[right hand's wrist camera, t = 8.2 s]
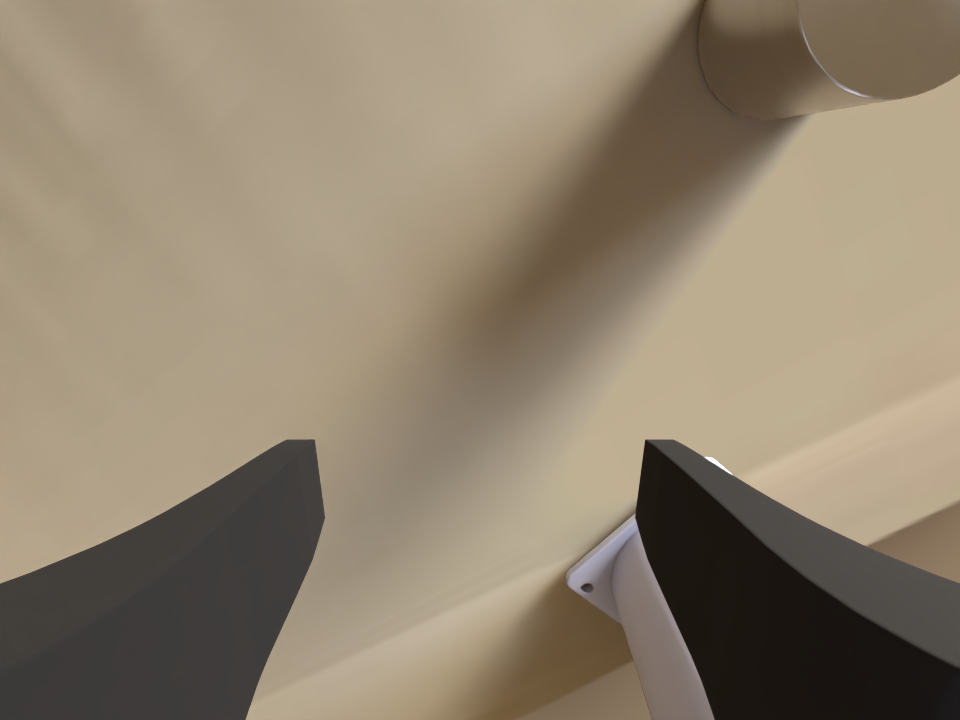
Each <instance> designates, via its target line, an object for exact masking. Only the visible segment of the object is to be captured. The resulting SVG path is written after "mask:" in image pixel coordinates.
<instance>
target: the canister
mask: <svg viewBox="0 0 960 720" xmlns="http://www.w3.org/2000/svg"><path fill="white" fill-rule="evenodd" d="M698 53H699V59H700V65H701V68H702V72H703V75H704V77H705V80H706V82H707V84H708V86H709V88H710V89H711V91H712V92H713V93H714V95H715V96H716V97H717V98H718V99H719V101H720V102H721V103H722V104H724V105H725V106H726V107H727V108H729V109H730V110H732V111H734V112H735V113H737V114H739V115H742V116H745V117H748V118H752V119H757V120H774V119H782V118H788V117H794V116H800V115H806V114H812V113H818V112H824V111H830V110H836V109H842V108H849V107H855V106H861V105H867V104H873V103H879V102H885V101H891V100H897V99H903V98H907V97H911V96H916V95H919V94H922V93H924V92H927V91H930V90H932V89H935V88H936V87H938V86H940V85H942V84H944V83H946V82H948V81H950V80H951V79H953V78H954V77H956V76H958V75H959V74H960V0H706V1H705V4H704V7H703V10H702V14H701V18H700V24H699V31H698Z"/></svg>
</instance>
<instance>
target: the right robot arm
mask: <svg viewBox="0 0 960 720" xmlns="http://www.w3.org/2000/svg"><path fill="white" fill-rule="evenodd" d="M324 519H325V515H324V507H323V499H322V492H321V484H320V477H319V469H318V461H317V454H316V446H315V440H285V441H283V442H281V443H279V444H277V445H276V446H274V447H272V448H270V449H269V450H267V451H265V452H264V453H262V454H261V455H259V456H257V457H256V458H254V459H253V460H251V461H249V462H248V463H246V464H245V465H243V466H241V467H240V468H238V469H237V470H235V471H233V472H232V473H230V474H229V475H227V476H225V477H224V478H222V479H221V480H219V481H217V482H216V483H214V484H213V485H211V486H209V487H207V488H206V489H204V490H202V491H201V492H199V493H197V494H195V495H194V496H192V497H190V498H188V499H187V500H185V501H183V502H181V503H180V504H178V505H176V506H174V507H173V508H171V509H169V510H167V511H166V512H164V513H162V514H160V515H158V516H156V517H154V518H153V519H151V520H149V521H147V522H145V523H143V524H141V525H139V526H137V527H135V528H133V529H131V530H128V531H126V532H124V533H122V534H120V535H118V536H116V537H114V538H112V539H110V540H108V541H105V542H103V543H101V544H99V545H96V546H94V547H92V548H89V549H87V550H84V551H82V552H80V553H77V554H75V555H72V556H70V557H67V558H65V559H63V560H60V561H58V562H55V563H53V564H50V565H48V566H46V567H43V568H41V569H38V570H36V571H33V572H31V573H28V574H26V575H23V576H20V577H18V578H15V579H12V580H9V581H6V582H4V583H1V584H0V720H245V719H246V716H247V713H248V711H249V708H250V705H251V702H252V699H253V696H254V693H255V690H256V687H257V684H258V682H259V679H260V677H261V674H262V672H263V669H264V667H265V664H266V662H267V659H268V657H269V655H270V653H271V650H272V648H273V646H274V644H275V642H276V639H277V637H278V635H279V633H280V631H281V629H282V626H283V624H284V622H285V620H286V618H287V615H288V613H289V611H290V609H291V607H292V604H293V602H294V600H295V598H296V596H297V593H298V591H299V589H300V587H301V584H302V582H303V580H304V578H305V575H306V573H307V571H308V569H309V566H310V564H311V562H312V559H313V556H314V553H315V550H316V547H317V544H318V540H319V537H320V533H321V530H322V526H323V523H324ZM565 578H566V582H567V586H568V587H569V588H570V589H572V590H573V591H574V592H576V593H577V594H579V595H580V596H581V597H583V598H584V599H586V600H587V601H588V602H590V603H591V604H593V605H594V606H596V607H597V608H598V609H600V610H601V611H603V612H604V613H605V614H607V615H608V616H610V617H611V618H612V619H614V620H615V621H617V622H618V623H619V624H621V625H622V626H623V628H624V631H625V635H626V638H627V641H628V644H629V647H630V651H631V654H632V657H633V660H634V663H635V667H636V670H637V673H638V676H639V679H640V683H641V686H642V689H643V692H644V695H645V698H646V702H647V705H648V708H649V711H650V715H651V718H652V720H960V583H957V582H954V581H951V580H948V579H946V578H943V577H940V576H937V575H935V574H932V573H930V572H927V571H925V570H922V569H920V568H917V567H915V566H912V565H910V564H907V563H905V562H902V561H900V560H897V559H894V558H892V557H890V556H887V555H885V554H882V553H880V552H878V551H875V550H873V549H871V548H869V547H866V546H864V545H862V544H860V543H857V542H855V541H853V540H851V539H849V538H847V537H845V536H843V535H841V534H838V533H836V532H834V531H832V530H830V529H828V528H826V527H824V526H822V525H820V524H818V523H816V522H814V521H812V520H810V519H808V518H806V517H804V516H802V515H800V514H799V513H797V512H795V511H793V510H791V509H789V508H788V507H786V506H784V505H782V504H780V503H779V502H777V501H775V500H773V499H771V498H770V497H768V496H766V495H765V494H763V493H761V492H759V491H758V490H756V489H754V488H753V487H751V486H749V485H748V484H746V483H744V482H743V481H741V480H740V479H738V478H736V477H735V476H733V475H732V474H731V473H730V472H729V471H728V470H726V469H725V468H724V467H723V466H722V465H721V464H720V463H718V462H717V461H716V460H715V459H713V458H710V457H703V456H701V455H700V454H698V453H696V452H695V451H693V450H692V449H690V448H688V447H686V446H685V445H683V444H681V443H679V442H677V441H675V440H645V446H644V453H643V461H642V469H641V476H640V484H639V492H638V499H637V507H636V513H635V514H634V515H633V516H631V517H630V518H629V519H628V520H627V521H626V522H624V523H623V524H622V525H621V526H620V527H618V528H617V529H616V530H615V531H614V532H613V533H611V534H610V535H609V536H608V537H607V538H606V539H604V540H603V541H602V542H601V543H600V544H598V545H597V546H596V547H595V548H594V549H593V550H591V551H590V552H589V553H588V554H587V555H586V556H584V557H583V558H582V559H581V560H580V561H578V562H577V563H576V564H575V565H574V566H573V567H571V568H570V569H569V570H568V571H567V573H566V576H565ZM588 583H589V585H587V586H583V585H584V584H588Z"/></svg>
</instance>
